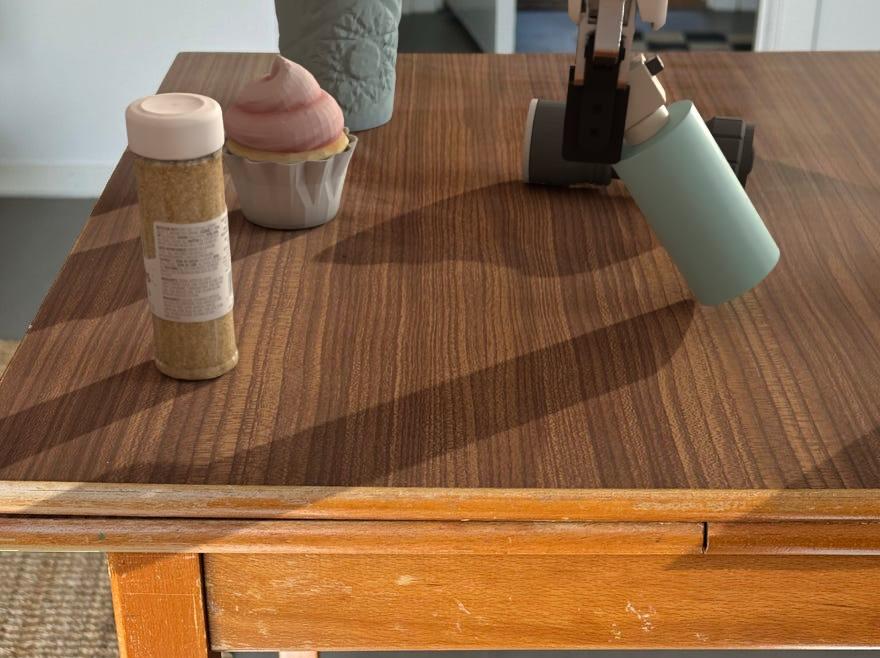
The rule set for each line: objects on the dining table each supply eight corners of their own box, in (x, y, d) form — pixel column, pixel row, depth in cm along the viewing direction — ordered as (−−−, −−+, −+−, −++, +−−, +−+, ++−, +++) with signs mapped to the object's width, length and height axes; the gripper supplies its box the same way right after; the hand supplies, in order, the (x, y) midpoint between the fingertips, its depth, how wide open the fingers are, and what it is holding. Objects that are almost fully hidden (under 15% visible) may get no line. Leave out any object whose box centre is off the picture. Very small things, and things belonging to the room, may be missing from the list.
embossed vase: (301, 91, 109) (295, -71, 102) (419, 102, 107) (422, -62, 100) (258, 129, 102) (249, -44, 94) (385, 141, 100) (385, -34, 92)
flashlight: (747, 185, 93) (761, 105, 89) (747, 212, 89) (761, 130, 85) (530, 167, 95) (535, 89, 92) (519, 193, 91) (525, 112, 88)
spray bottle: (695, 282, 79) (775, 234, 77) (701, 319, 75) (785, 270, 73) (574, 90, 73) (657, 32, 71) (573, 119, 69) (660, 59, 67)
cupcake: (219, 191, 91) (206, 36, 85) (354, 187, 92) (351, 33, 86) (217, 243, 84) (204, 77, 77) (364, 238, 84) (362, 74, 78)
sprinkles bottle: (163, 344, 72) (134, 88, 64) (246, 346, 72) (228, 90, 64) (147, 383, 69) (114, 117, 60) (234, 385, 69) (213, 119, 60)
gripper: (733, -227, 55) (664, 209, 66) (709, -259, 67) (654, 113, 79) (552, -237, 55) (514, 198, 67) (562, -266, 68) (528, 104, 79)
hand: (590, 149), depth 73 cm, fingers closed, pressing on spray bottle
